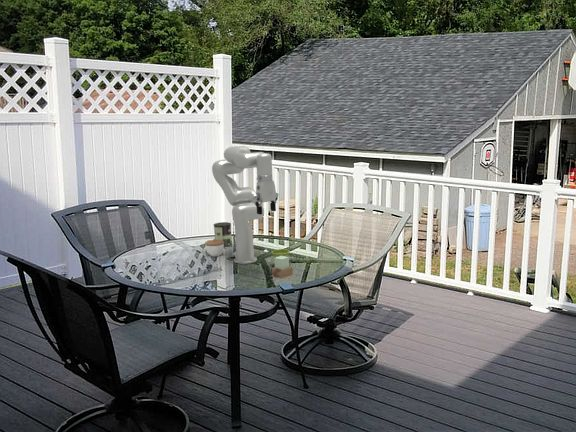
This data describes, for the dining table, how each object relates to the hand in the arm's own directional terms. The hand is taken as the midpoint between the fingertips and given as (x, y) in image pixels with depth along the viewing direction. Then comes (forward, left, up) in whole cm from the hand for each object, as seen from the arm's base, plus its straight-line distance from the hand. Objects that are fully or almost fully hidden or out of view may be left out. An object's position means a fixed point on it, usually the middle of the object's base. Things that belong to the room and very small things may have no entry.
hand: (266, 212), depth 302 cm
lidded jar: (-48, +5, -31) cm, 57 cm away
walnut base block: (+14, -5, -29) cm, 33 cm away
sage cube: (+14, -5, -25) cm, 29 cm away
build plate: (+14, -5, -30) cm, 34 cm away
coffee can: (-59, +21, -31) cm, 70 cm away
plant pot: (+1, +8, -31) cm, 32 cm away
